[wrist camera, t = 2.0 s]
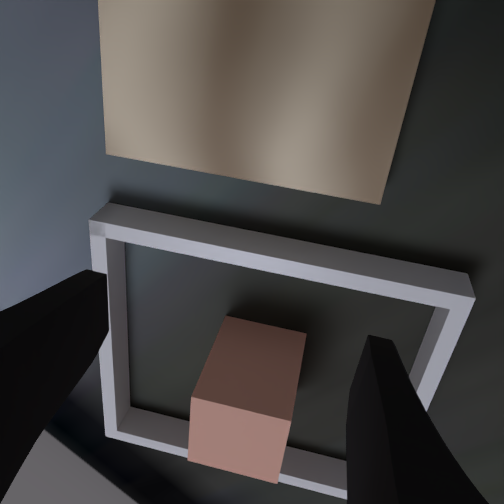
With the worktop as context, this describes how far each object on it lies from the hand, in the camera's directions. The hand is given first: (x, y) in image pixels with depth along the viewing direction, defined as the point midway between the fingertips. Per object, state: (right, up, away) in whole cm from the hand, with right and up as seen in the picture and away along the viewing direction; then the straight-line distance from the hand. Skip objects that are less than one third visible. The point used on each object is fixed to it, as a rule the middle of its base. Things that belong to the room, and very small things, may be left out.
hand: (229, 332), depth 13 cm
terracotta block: (+1, -4, +14) cm, 15 cm away
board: (+1, +11, +6) cm, 12 cm away
